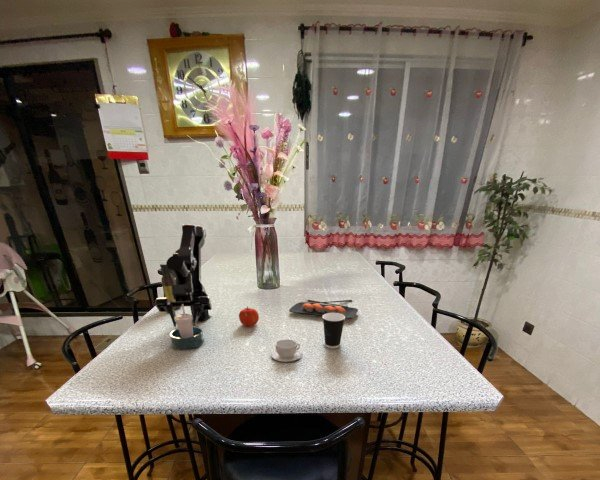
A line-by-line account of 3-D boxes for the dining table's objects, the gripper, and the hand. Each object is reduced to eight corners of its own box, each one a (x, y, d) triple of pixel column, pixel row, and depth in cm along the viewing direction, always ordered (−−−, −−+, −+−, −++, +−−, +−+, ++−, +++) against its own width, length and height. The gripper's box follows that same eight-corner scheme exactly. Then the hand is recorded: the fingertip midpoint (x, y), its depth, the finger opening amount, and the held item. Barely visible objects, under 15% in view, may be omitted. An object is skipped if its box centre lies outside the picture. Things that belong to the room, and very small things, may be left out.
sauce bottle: (178, 304, 171) (169, 261, 161) (183, 308, 167) (175, 263, 157) (165, 307, 168) (155, 263, 157) (170, 311, 164) (161, 265, 153)
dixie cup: (318, 348, 127) (319, 318, 122) (325, 340, 134) (326, 311, 128) (339, 351, 125) (341, 321, 119) (346, 343, 131) (348, 314, 125)
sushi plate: (286, 315, 158) (286, 306, 156) (310, 296, 182) (310, 289, 180) (350, 323, 149) (351, 314, 147) (367, 302, 172) (368, 294, 170)
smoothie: (200, 342, 131) (194, 304, 124) (185, 347, 128) (177, 309, 120) (191, 337, 135) (184, 300, 128) (175, 342, 131) (167, 304, 124)
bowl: (165, 347, 129) (163, 335, 127) (185, 336, 138) (182, 325, 135) (191, 352, 125) (189, 340, 123) (209, 340, 134) (208, 329, 132)
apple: (256, 329, 144) (254, 309, 139) (237, 328, 145) (235, 308, 141) (261, 322, 150) (260, 303, 146) (243, 321, 152) (241, 302, 147)
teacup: (279, 365, 116) (278, 352, 114) (267, 353, 124) (266, 341, 121) (306, 359, 120) (306, 346, 118) (293, 348, 128) (292, 335, 125)
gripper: (149, 274, 122) (149, 317, 118) (205, 272, 123) (207, 314, 120) (159, 291, 132) (159, 330, 129) (211, 289, 134) (212, 328, 131)
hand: (184, 326), depth 127 cm, fingers closed on smoothie, 6 cm apart
